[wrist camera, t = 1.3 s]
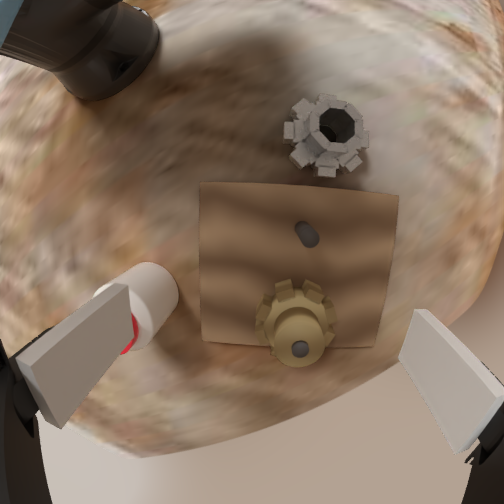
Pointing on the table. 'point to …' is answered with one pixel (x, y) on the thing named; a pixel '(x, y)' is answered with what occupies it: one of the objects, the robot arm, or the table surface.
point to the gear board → (293, 266)
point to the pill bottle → (147, 300)
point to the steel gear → (317, 145)
